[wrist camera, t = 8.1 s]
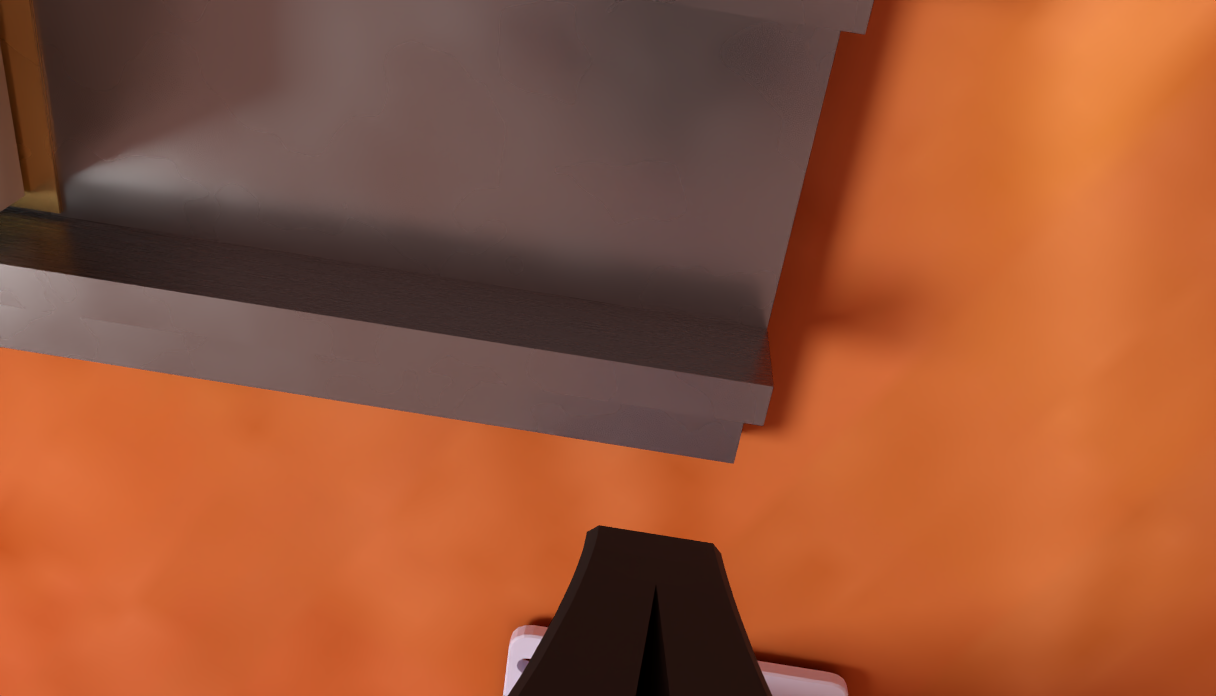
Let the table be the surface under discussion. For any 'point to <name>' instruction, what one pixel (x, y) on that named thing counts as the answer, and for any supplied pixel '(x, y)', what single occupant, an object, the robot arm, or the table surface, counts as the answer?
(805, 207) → the table surface
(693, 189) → the chute
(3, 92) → the block
